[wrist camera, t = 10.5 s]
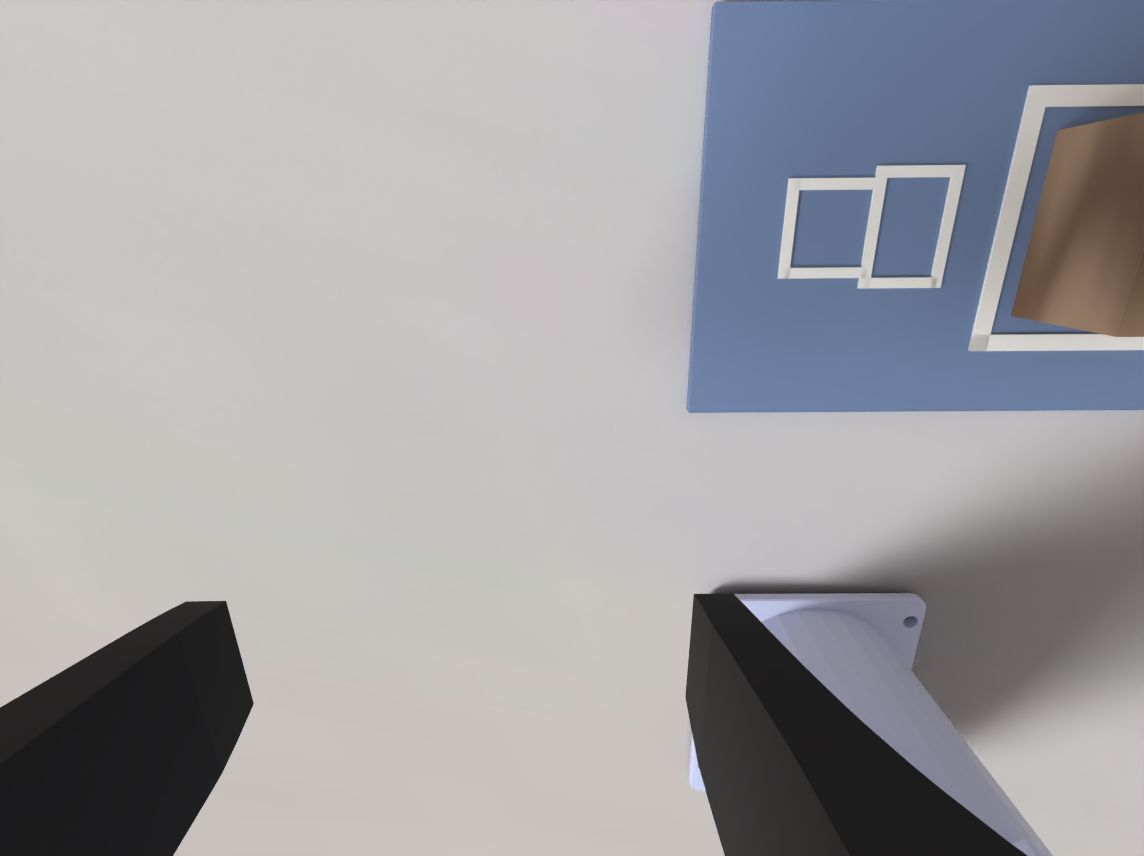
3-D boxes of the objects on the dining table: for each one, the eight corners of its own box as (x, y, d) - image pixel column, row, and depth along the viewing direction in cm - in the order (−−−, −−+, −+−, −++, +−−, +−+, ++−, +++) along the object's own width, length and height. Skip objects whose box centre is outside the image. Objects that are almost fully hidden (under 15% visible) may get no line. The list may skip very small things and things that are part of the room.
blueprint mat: (1179, 405, 18) (1195, 410, 18) (686, 409, 18) (689, 413, 18) (1328, 1, 15) (1353, -7, 14) (712, 7, 15) (716, 0, 14)
